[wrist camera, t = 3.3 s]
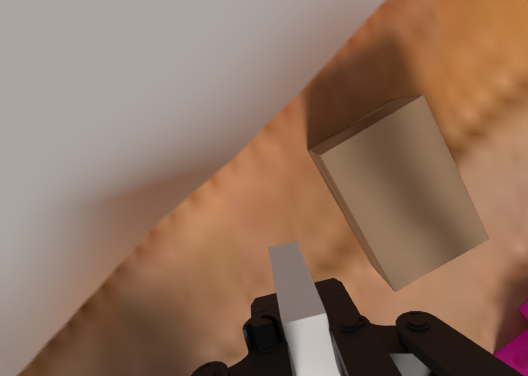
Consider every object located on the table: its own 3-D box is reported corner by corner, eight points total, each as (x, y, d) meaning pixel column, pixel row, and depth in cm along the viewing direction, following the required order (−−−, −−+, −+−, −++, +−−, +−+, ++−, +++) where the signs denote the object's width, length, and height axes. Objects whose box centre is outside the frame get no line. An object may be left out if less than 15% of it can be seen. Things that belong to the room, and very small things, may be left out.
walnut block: (370, 264, 30) (394, 291, 25) (306, 149, 28) (320, 155, 23) (448, 219, 30) (489, 238, 25) (391, 99, 27) (423, 94, 23)
